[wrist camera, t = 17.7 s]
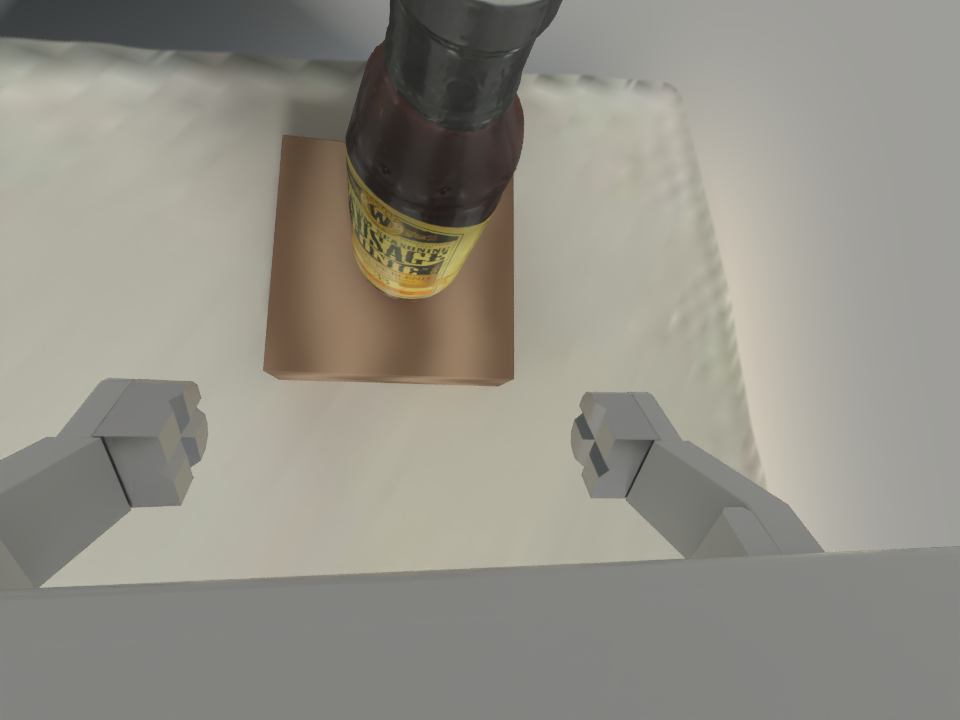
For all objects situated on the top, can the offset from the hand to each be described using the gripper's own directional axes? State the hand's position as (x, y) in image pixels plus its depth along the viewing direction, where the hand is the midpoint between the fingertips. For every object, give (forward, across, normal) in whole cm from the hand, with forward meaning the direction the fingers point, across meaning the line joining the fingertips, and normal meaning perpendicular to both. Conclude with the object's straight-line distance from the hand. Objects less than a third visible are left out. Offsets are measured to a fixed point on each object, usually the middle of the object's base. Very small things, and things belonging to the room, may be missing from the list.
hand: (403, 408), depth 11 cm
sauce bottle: (+19, -1, +5) cm, 20 cm away
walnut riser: (+22, 0, +8) cm, 23 cm away
